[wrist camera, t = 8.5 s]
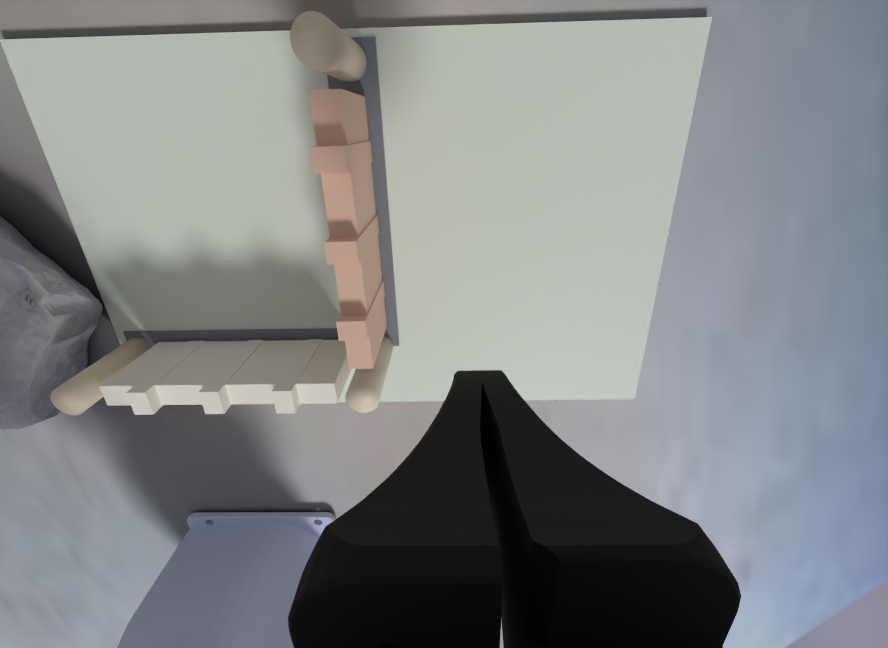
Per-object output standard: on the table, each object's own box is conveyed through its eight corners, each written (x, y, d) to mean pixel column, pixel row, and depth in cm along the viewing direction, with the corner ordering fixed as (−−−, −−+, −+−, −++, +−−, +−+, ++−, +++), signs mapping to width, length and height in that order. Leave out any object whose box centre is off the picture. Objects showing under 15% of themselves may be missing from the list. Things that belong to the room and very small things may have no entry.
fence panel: (390, 326, 21) (375, 376, 17) (362, 326, 21) (340, 376, 17) (364, 38, 16) (333, 7, 12) (327, 40, 16) (283, 9, 12)
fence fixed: (137, 357, 23) (54, 418, 18) (128, 333, 22) (40, 390, 17) (395, 354, 22) (380, 415, 17) (393, 330, 22) (377, 386, 17)
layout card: (147, 400, 24) (142, 405, 23) (7, 41, 17) (-4, 39, 16) (632, 395, 23) (635, 400, 23) (707, 18, 16) (713, 16, 15)
